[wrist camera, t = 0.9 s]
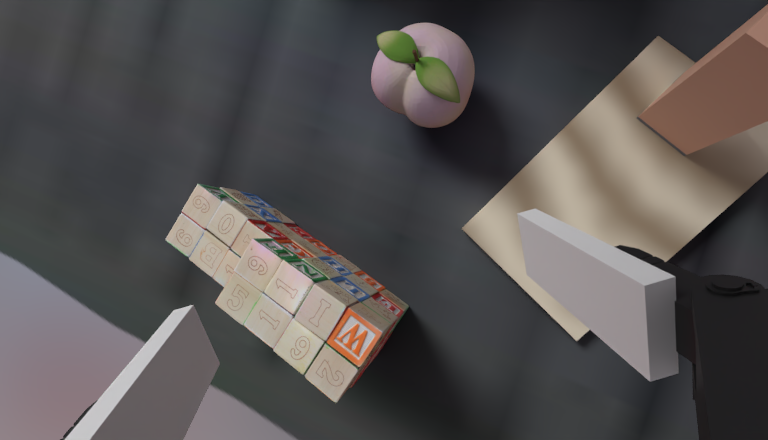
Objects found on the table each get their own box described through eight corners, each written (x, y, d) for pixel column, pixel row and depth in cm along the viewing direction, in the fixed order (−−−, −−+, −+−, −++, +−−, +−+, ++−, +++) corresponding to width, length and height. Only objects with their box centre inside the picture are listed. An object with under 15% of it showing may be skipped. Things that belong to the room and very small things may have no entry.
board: (653, 41, 34) (658, 35, 34) (792, 144, 32) (802, 140, 31) (462, 228, 37) (461, 228, 36) (573, 338, 35) (576, 341, 34)
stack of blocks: (227, 239, 44) (134, 238, 32) (255, 193, 43) (171, 174, 31) (378, 356, 39) (335, 406, 27) (412, 305, 38) (383, 334, 26)
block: (681, 74, 33) (825, -44, 19) (731, 112, 32) (921, 15, 18) (636, 118, 34) (745, 32, 20) (684, 156, 33) (834, 93, 19)
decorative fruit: (493, 82, 38) (500, 26, 28) (447, 153, 38) (438, 123, 29) (414, 41, 40) (395, -25, 30) (372, 108, 40) (340, 66, 31)
